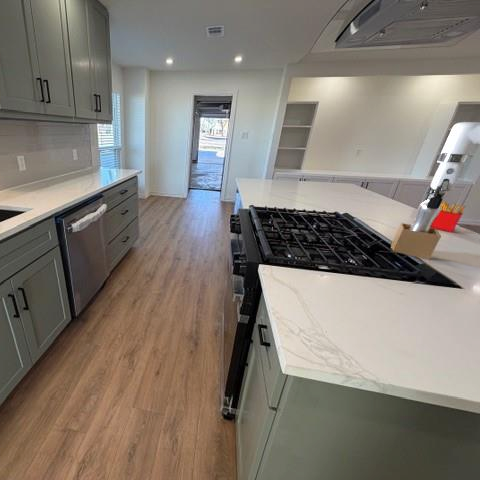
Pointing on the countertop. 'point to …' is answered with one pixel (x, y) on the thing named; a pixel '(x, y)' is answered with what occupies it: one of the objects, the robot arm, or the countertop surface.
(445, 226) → the french fries container
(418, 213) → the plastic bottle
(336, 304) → the countertop surface
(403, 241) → the bottle box
